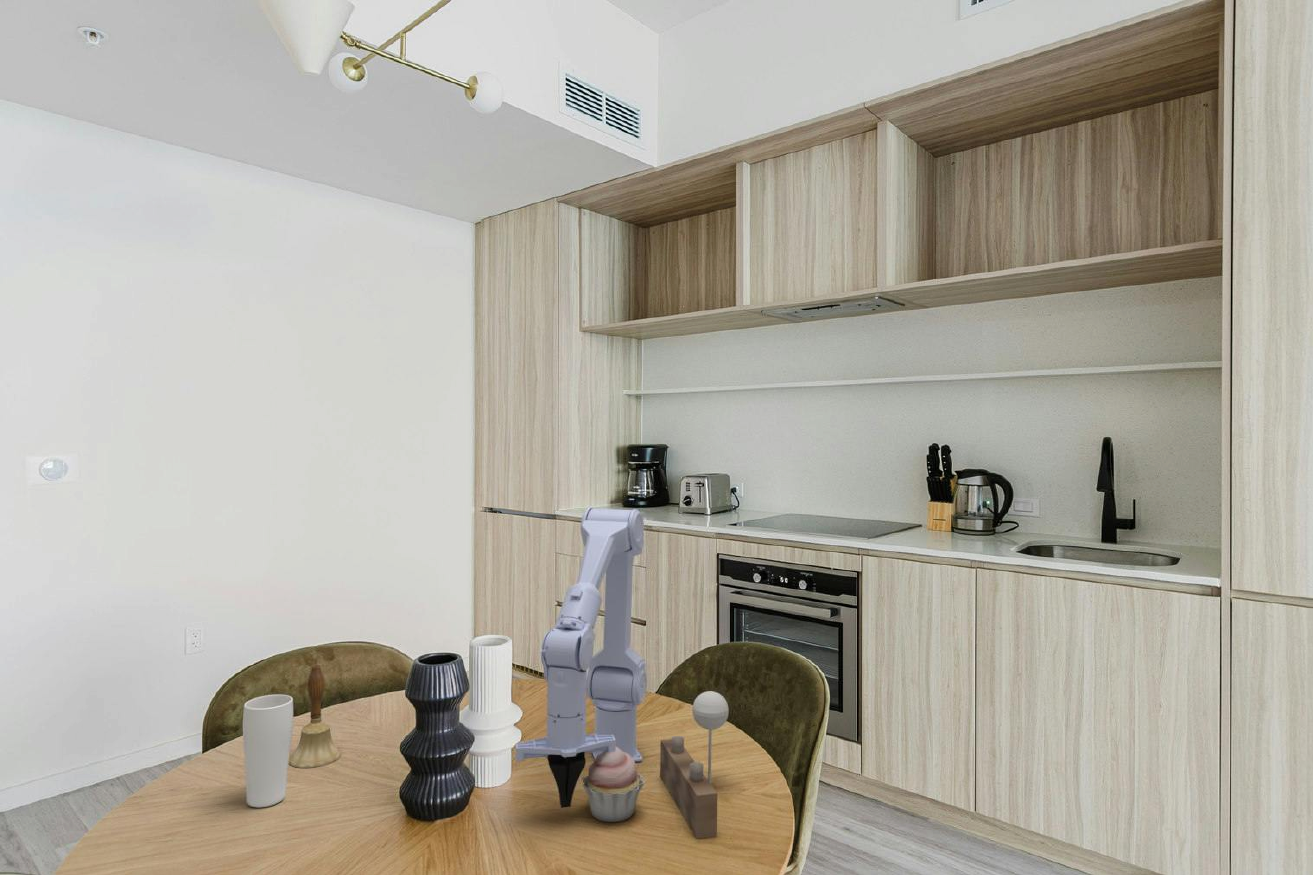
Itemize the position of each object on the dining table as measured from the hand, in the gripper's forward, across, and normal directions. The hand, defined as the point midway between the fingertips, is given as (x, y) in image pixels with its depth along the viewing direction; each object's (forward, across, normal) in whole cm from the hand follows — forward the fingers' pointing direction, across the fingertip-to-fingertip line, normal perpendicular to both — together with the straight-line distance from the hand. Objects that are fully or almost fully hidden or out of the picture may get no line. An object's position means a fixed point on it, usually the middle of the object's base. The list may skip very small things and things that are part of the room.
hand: (565, 804), depth 107 cm
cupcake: (+2, +7, 0) cm, 7 cm away
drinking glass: (+2, -44, +15) cm, 46 cm away
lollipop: (+2, +24, +5) cm, 25 cm away
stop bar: (+2, +19, 0) cm, 19 cm away
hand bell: (+2, -40, +30) cm, 50 cm away
